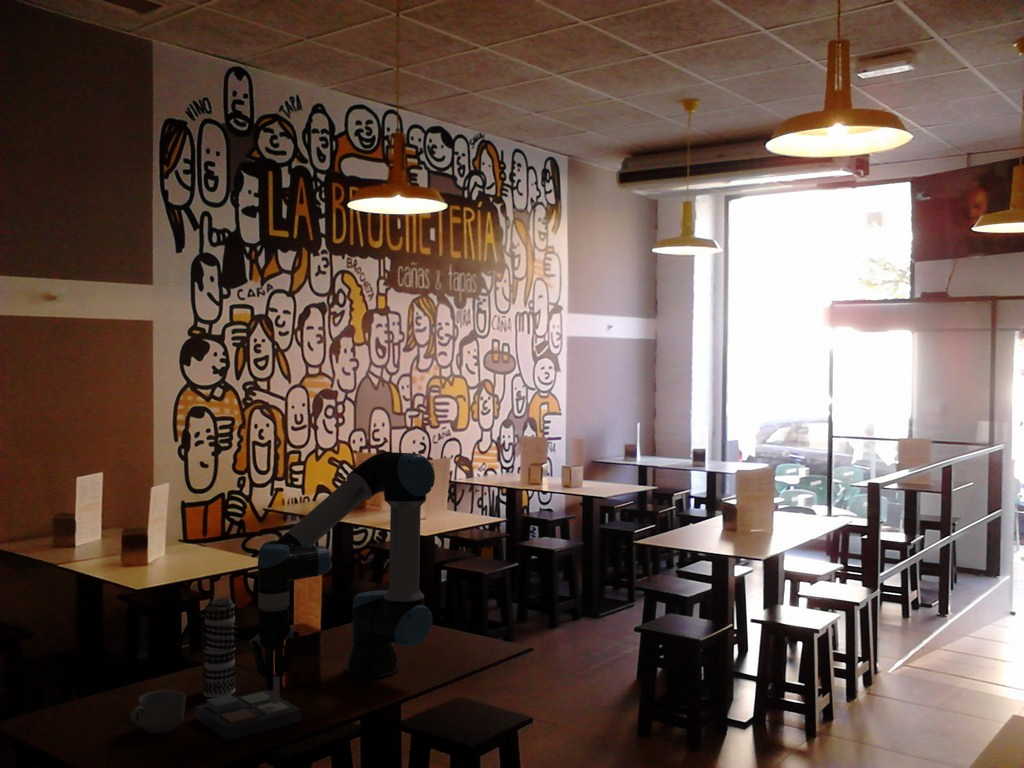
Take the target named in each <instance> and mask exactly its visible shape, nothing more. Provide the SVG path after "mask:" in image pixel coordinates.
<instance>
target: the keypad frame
mask: <svg viewBox="0 0 1024 768" xmlns="http://www.w3.org/2000/svg"><path fill="white" fill-rule="evenodd" d="M261 692H263V693H265V694H267V695H269V690H267V689H266V690H260V691H256V692H251V693H248V694H243V695H239V696H234V697H235V698H237V699H238V700H240V709H236V710H232V711H227V712H223V713H219V714H214V713H213V712H211V711H210V710H208V709H207V703H205V704H201V705H197V706H195V720H197V721H198V722H200V723H201V724H202V725H204V726H206V728H208V729H210V730H211V731H212V732H214V733H215V734H217V735H218V736H220V737H221V738H223V739H224V740H225V741H227V742H229V741H233V740H235V739H240V738H244V737H247V736H252V735H256V734H259V733H262V732H267V731H270V730H274V729H279V728H281V727H286V726H289V725H293V724H296V722H297V723H300V721H301V722H302V709H301V708H300V707H298V706H296V705H294V704H292V703H290V702H289V701H287V700H285V699H283V698H281V697H280V702H281V703H283V704H285V705H286V706H288V707H290V710H287V711H283V712H279V713H275V714H271V715H268V716H266V715H264V714H263V713H261V712H259V711H258V710H256V707H257V706H261V705H265V704H269V703H271V702H269V701H268V702H264V703H260V704H256V705H252V706H249V705H248V704H246V703H244V702H243V701H241V697H244V696H248V695H253V694H257V693H261ZM240 710H247V711H248V712H250V713H252V714H253V715H255V716H256V719H252V720H248V721H244V722H240V723H236V724H232V725H230V724H229V723H227V722H226V721H224V720H223V719H222V715H224V714H228V713H232V712H236V711H240Z"/></svg>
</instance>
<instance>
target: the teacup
mask: <svg viewBox="0 0 1024 768" xmlns="http://www.w3.org/2000/svg"><path fill="white" fill-rule="evenodd" d="M186 699H187V695H186V693H184V692H182V691H179V690H173V689H172V690H171V689H170V690H168V689H164V690H163V689H162V690H161V689H160V690H155V691H154V690H153V691H149V692H146V693H144V694H142V695H140V697H139V698H138V705H137V706H135V707H134V708H133V709H132V711H131V713H130V721H131V722H132V724H134V725H136V726H138V727H140V728H141V730H145V732H147V733H149V734H153V735H162V734H163V733H164V734H168V733H171V732H173V731H174V730H175V729H176V728H178V727H179V726H180V725H181V724H182V723H183V720H184V717H185V711H186V710H185V709H186ZM137 715H138V719H137ZM170 731H171V732H170ZM167 732H168V733H167ZM164 734H163V735H164Z"/></svg>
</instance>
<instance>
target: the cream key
mask: <svg viewBox="0 0 1024 768" xmlns="http://www.w3.org/2000/svg"><path fill="white" fill-rule="evenodd" d="M256 710H258V711H259V712H261V713H263V714H264V715H266V716H268V715H271V714H275V713H279V712H283V711H287V710H290V707H288V706H286V705H285V704H283V703H281V702H280V703H277V704H273V703H269V704H265V705H261V706H257V707H256Z"/></svg>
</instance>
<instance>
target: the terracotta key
mask: <svg viewBox="0 0 1024 768" xmlns="http://www.w3.org/2000/svg"><path fill="white" fill-rule="evenodd" d="M222 719H223V720H224V721H226V722H227V723H229V724H230V725H232V724H236V723H240V722H244V721H248V720H252V719H256V716H255V715H253V714H252V713H250V712H248V711H247V710H240V711H236V712H232V713H228V714H224V715H222Z"/></svg>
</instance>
